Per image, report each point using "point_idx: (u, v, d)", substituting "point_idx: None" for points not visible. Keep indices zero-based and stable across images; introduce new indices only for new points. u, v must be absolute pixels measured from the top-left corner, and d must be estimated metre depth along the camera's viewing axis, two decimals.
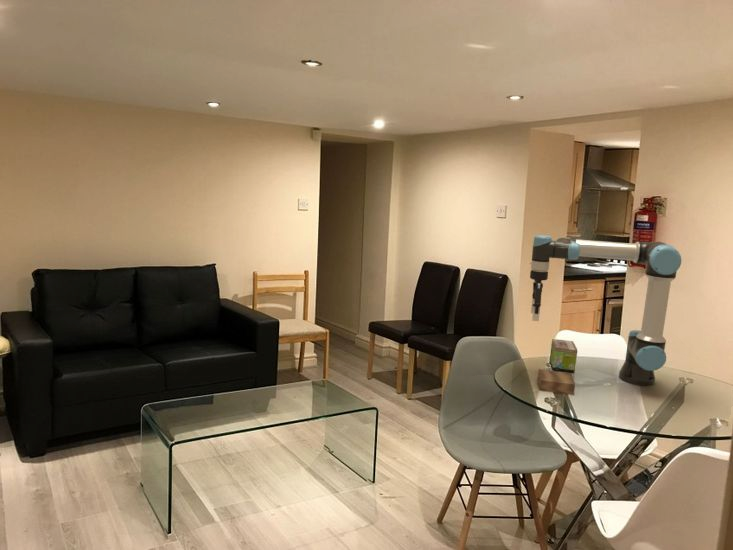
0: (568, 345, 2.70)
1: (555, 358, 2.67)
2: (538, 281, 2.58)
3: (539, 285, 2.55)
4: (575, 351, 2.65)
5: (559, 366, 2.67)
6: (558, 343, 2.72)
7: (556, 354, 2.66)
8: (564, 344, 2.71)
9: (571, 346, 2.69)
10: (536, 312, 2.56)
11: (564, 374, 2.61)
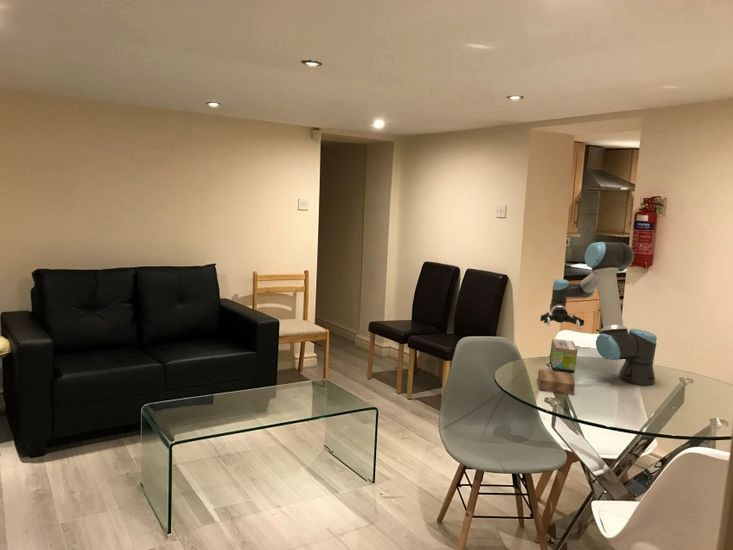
0: (568, 345, 2.70)
1: (555, 358, 2.67)
2: (552, 315, 2.97)
3: None
4: (575, 351, 2.65)
5: (559, 366, 2.67)
6: (558, 343, 2.72)
7: (556, 354, 2.66)
8: (564, 344, 2.71)
9: (571, 346, 2.69)
10: (545, 320, 2.86)
11: (564, 374, 2.61)
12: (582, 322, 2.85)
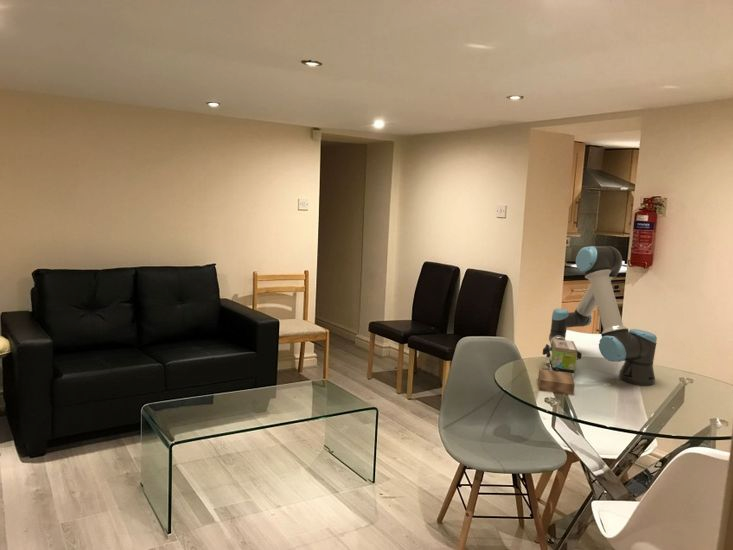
0: (568, 345, 2.70)
1: (555, 358, 2.67)
2: None
3: None
4: (575, 351, 2.65)
5: (559, 365, 2.67)
6: (558, 343, 2.72)
7: (556, 354, 2.66)
8: (564, 344, 2.71)
9: (571, 346, 2.69)
10: (547, 354, 2.75)
11: (564, 374, 2.61)
12: (579, 355, 2.75)
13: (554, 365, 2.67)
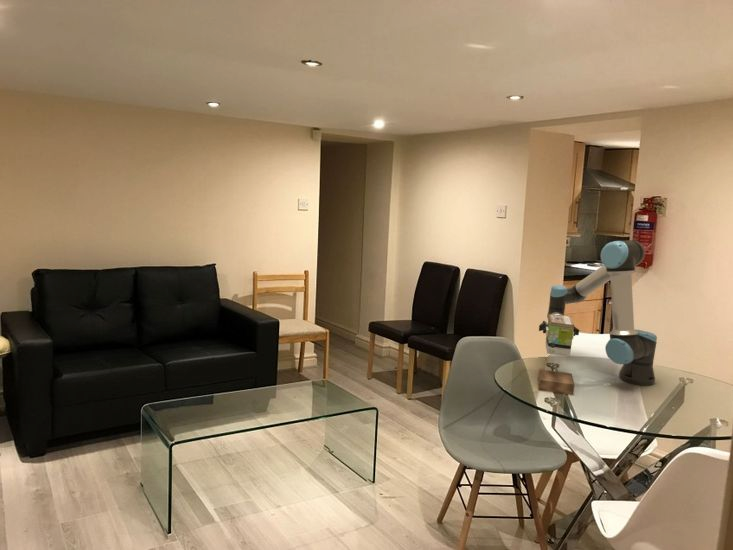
0: (565, 320, 2.60)
1: (551, 333, 2.57)
2: None
3: None
4: (572, 326, 2.54)
5: (555, 341, 2.57)
6: (555, 318, 2.62)
7: (552, 329, 2.56)
8: (561, 319, 2.61)
9: (568, 321, 2.58)
10: (543, 330, 2.65)
11: (564, 374, 2.61)
12: (577, 331, 2.65)
13: (550, 340, 2.57)
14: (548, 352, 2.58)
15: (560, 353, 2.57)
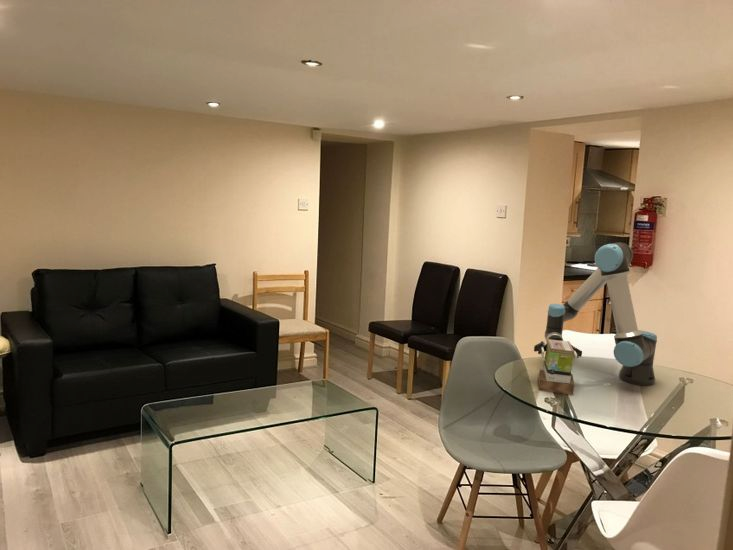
0: (564, 346, 2.52)
1: (550, 360, 2.49)
2: None
3: None
4: (571, 352, 2.47)
5: (555, 368, 2.50)
6: (553, 344, 2.55)
7: (551, 355, 2.49)
8: (560, 345, 2.54)
9: (567, 347, 2.51)
10: (538, 351, 2.59)
11: None
12: (580, 353, 2.58)
13: (549, 367, 2.50)
14: (547, 379, 2.51)
15: (560, 380, 2.50)
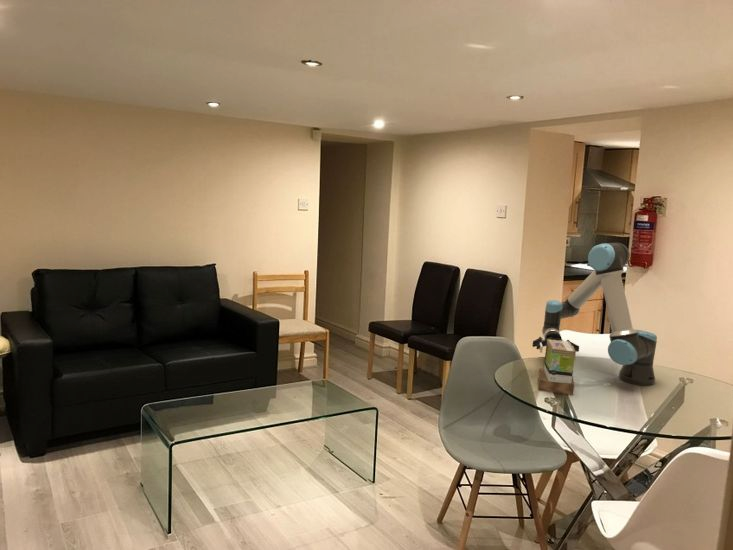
0: (565, 346, 2.52)
1: (552, 360, 2.49)
2: (545, 340, 2.77)
3: None
4: (573, 352, 2.47)
5: (556, 368, 2.49)
6: (554, 344, 2.54)
7: (553, 356, 2.49)
8: (561, 345, 2.53)
9: (568, 347, 2.51)
10: (537, 346, 2.66)
11: None
12: (577, 348, 2.65)
13: (551, 368, 2.50)
14: (549, 379, 2.51)
15: (561, 380, 2.50)
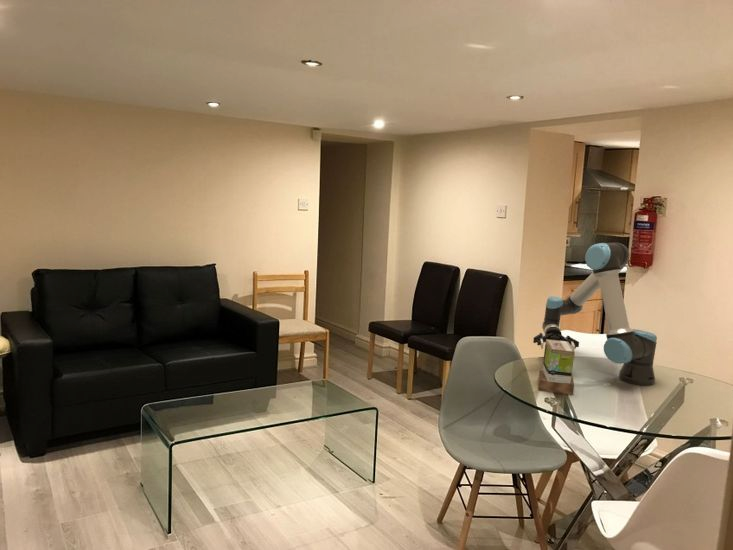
0: (564, 346, 2.52)
1: (551, 360, 2.49)
2: (545, 336, 2.83)
3: None
4: (572, 352, 2.47)
5: (555, 368, 2.49)
6: (553, 344, 2.54)
7: (552, 356, 2.49)
8: (560, 345, 2.53)
9: (567, 347, 2.51)
10: (538, 343, 2.71)
11: None
12: (577, 344, 2.71)
13: (550, 368, 2.50)
14: (548, 380, 2.51)
15: (560, 380, 2.50)
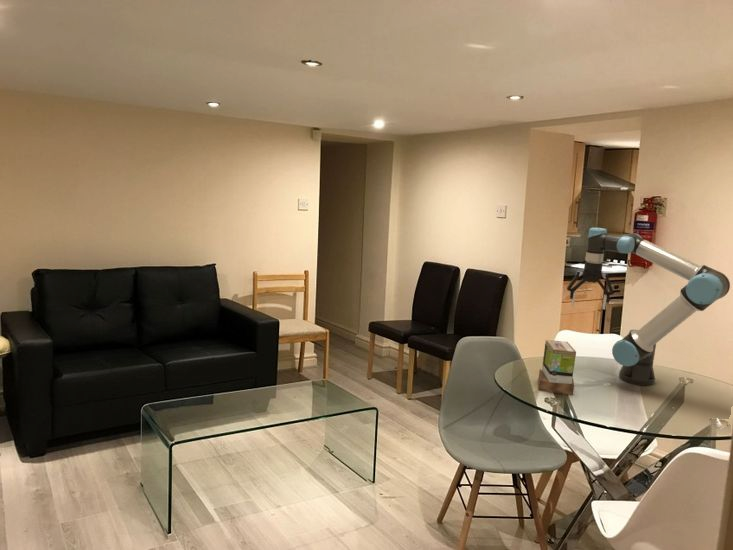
0: (565, 346, 2.52)
1: (553, 361, 2.48)
2: None
3: (576, 272, 2.70)
4: (574, 353, 2.47)
5: (557, 369, 2.49)
6: (554, 344, 2.54)
7: (554, 357, 2.48)
8: (560, 345, 2.53)
9: (568, 347, 2.51)
10: (570, 297, 2.73)
11: None
12: None
13: (551, 368, 2.49)
14: (550, 380, 2.50)
15: (562, 381, 2.49)
